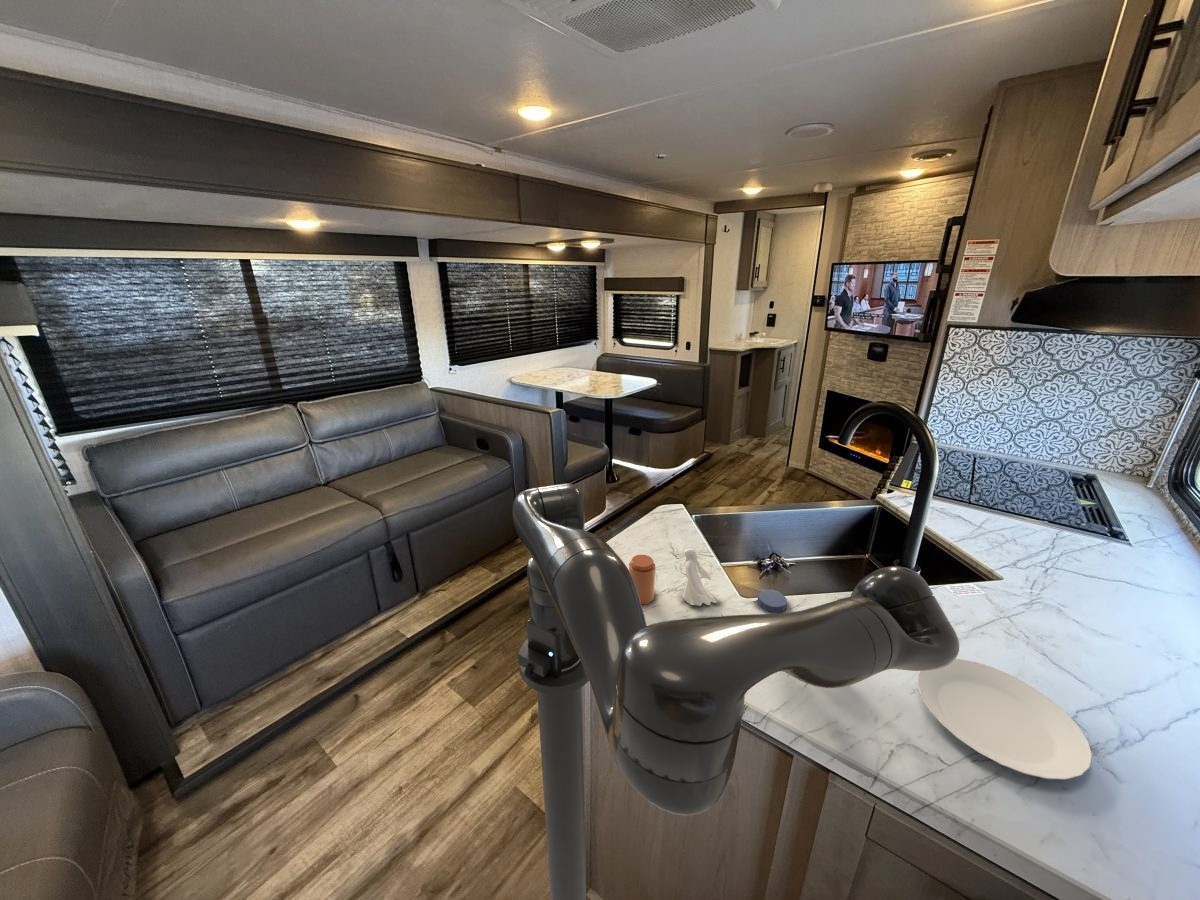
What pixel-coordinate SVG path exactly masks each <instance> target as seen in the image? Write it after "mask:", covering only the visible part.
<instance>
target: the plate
mask: <svg viewBox="0 0 1200 900" xmlns="http://www.w3.org/2000/svg"><path fill="white" fill-rule="evenodd" d="M916 684H917V688H918V692H919V696H920V697H921V699H922V701H923V702H924V704H925V706H926V708H927V709H928V711H930V713H931V714H932V715H933V716H934V717H935V718H936V720H937V721H938V722H939V723H940V724H941V725H942V726H943V727H944V728H945V729H947V730H948V732H950V733H951V734H952V735H953V736H954V737H955V738H956V739H958V740H959V741H961V742H962V743H964V744H965V745H966V746H968V747H969V748H971V749H973V750H974V751H975V752H977V753H978V754H980V755H982V756H984V757H986V758H988V759H990V760H992V761H994V762H995V763H997V764H999V765H1001V766H1003V767H1006V768H1009V769H1011V770H1013V771H1016V772H1018V773H1021V774H1024V775H1028V776H1032V777H1036V778H1041V779H1044V780H1045V779H1046V780H1064V781H1065V780H1070V779H1074V778H1077V777H1081V776H1082V775H1084V774H1085V773H1086V772H1087V771H1089V769H1090V768H1091V764H1092V759H1093V754H1092V750H1091V747H1090V742H1089V741H1088V738H1086V736H1085V734H1084V732H1083V731H1082V729H1081V728H1080V726H1079V725H1078V724H1077V723H1076V721H1074V720H1073V718H1072V717H1071V716H1070V715H1069V714H1068V713H1067V712H1066V711H1065V710H1064V709H1063V708H1061V707H1060V706H1059V705H1058V704H1057V703H1056V702H1055V701H1053V700H1052V699H1051V698H1050V697H1048V696H1047V695H1045V694H1044V693H1042V692H1041V691H1040V690H1038V689H1037V688H1035V687H1034V686H1032V685H1030V684H1029V683H1026V682H1025V681H1023V680H1021V679H1020V678H1018V677H1016V676H1014V675H1012V674H1010V673H1008V672H1005V671H1004V670H1003V671H1002V670H1001V669H998V668H996V667H993V666H990V665H986V664H983V663H981V662H977V661H974V660H973V661H972V660H968V659H967V660H966V659H963V658H962V659H961V658H956V659H955V660H954V661H953V662H952V663H951V664H949V665H948V666H945V667H943V668H940V669H936V670H929V671H918V673H917V681H916Z"/></svg>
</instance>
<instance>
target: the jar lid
mask: <svg viewBox="0 0 1200 900" xmlns="http://www.w3.org/2000/svg"><path fill="white" fill-rule="evenodd" d="M787 603H788V599H787V597H786V596H785V595H784V594H783V593H782V592H780V591H778V590H774V589H770V588H767V589H762V590H760V591H759V592H758V594H757V604H758V606H759V607H760V608H762V609H763V610H765V611H767V612H768V613H772V614H779V613H783V612H784V611H785V610H786V609H787Z"/></svg>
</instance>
